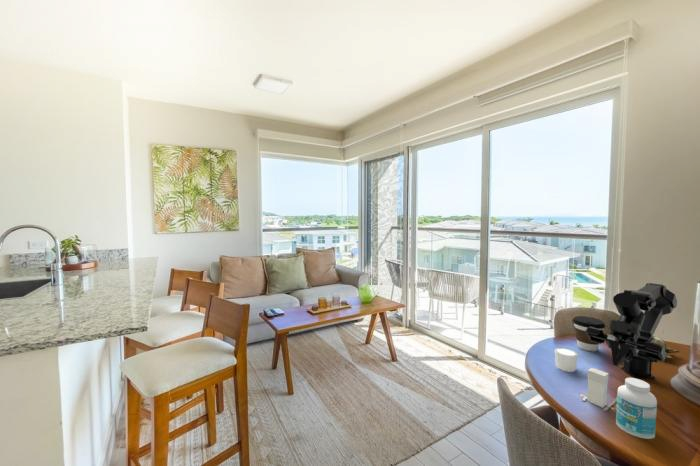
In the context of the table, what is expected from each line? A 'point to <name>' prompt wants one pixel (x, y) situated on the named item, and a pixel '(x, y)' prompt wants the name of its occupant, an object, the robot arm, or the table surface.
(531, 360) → the table surface
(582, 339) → the coffee cup
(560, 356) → the white cylinder
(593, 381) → the fader tab
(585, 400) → the console
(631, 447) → the table surface
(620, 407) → the pill bottle
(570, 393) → the table surface
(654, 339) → the ceramic sculpture
